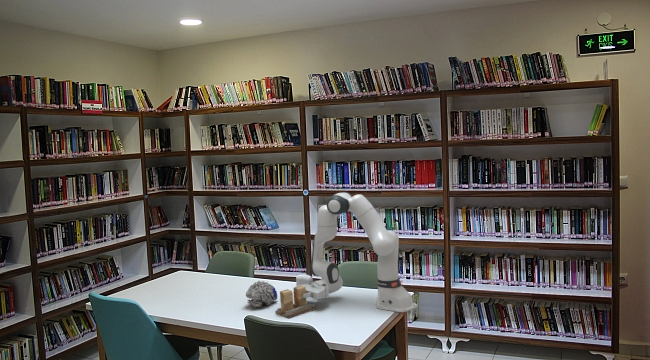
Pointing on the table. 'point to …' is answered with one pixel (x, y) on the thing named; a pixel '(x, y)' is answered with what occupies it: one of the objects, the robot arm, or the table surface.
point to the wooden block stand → (291, 306)
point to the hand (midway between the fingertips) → (298, 294)
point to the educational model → (261, 294)
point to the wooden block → (299, 296)
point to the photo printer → (304, 280)
